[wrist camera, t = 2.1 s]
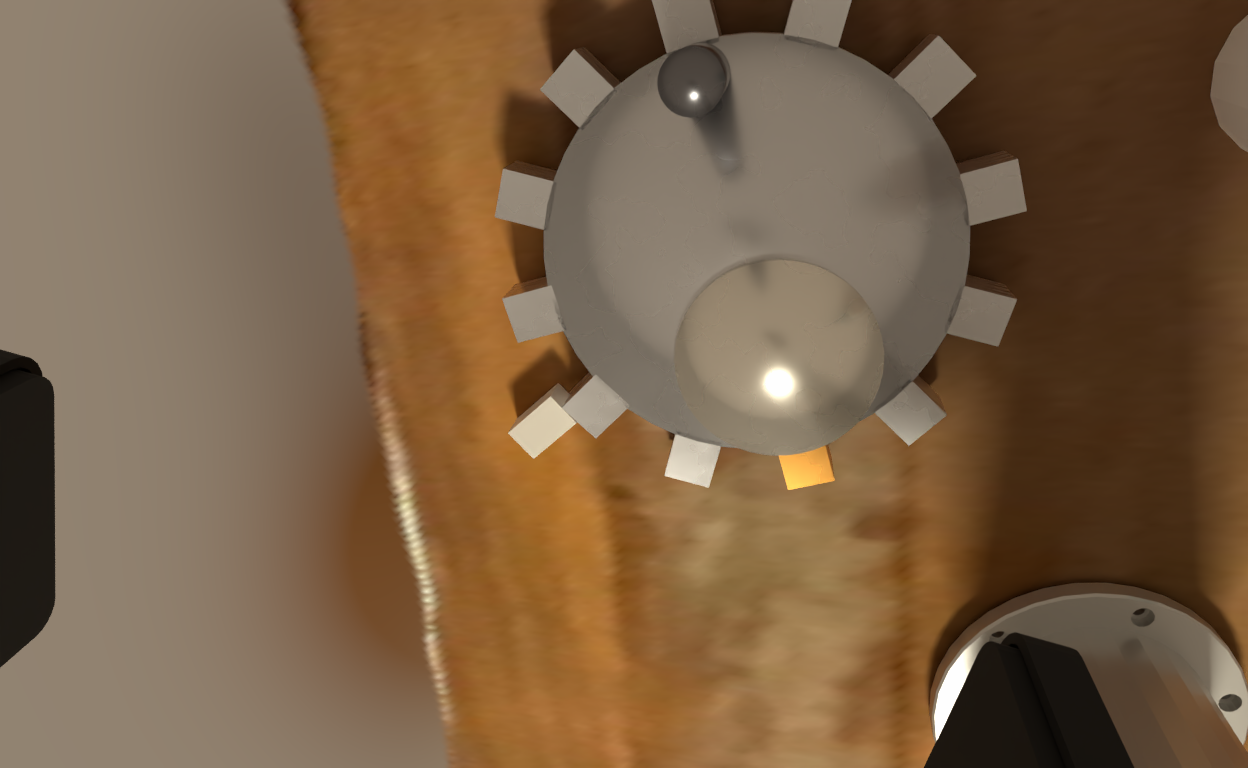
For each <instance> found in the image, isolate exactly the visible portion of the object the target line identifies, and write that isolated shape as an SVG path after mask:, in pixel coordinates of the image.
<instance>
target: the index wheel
mask: <svg viewBox="0 0 1248 768" xmlns="http://www.w3.org/2000/svg"><path fill="white" fill-rule="evenodd" d="M851 1H852V0H792V3H791V7H790V10H789V14H788V18H787V21H786V25H785V29H784V33H782V32H744V33H735V34H725V35H722V33H721V29H720V26H719V22H718V18H717V14H716V10H715V6H714V2H713V0H652V2H653V6H654V10H655V13H656V17H657V20H658V24H659V28H660V31H661V35H662V38H663V42H664V46H665V49H666V53H667V54H665V55H663V56H661V57H660V58H658V59H656V60H654V61H653V62H651V63H649V64H647V65H645V66H644V67H642V68H640V69H639V70H637V71H636V72H635V73H633V74H632V75H631V76H629V77H628V78H627V79H625V80H624V81H623V82H620V81H619V80H618V79H617V78H616V77H615V76H614V75H613V74H612V73H611V72H610V71H609V70H608V69H607V68H606V67H605V66H604V65H603V64H602V63H601V62H600V61H599V60H598V59H597V58H596V57H595V56H594V55H593V54H592V53H591V52H590V51H588V50H587V49H586V48H585V47H581V48H577V49H574V50H573V51H572V52H571V53H570V54H569V56H568V57H567V58H566V59H565V60H564V62H563V63H562V64H561V65H560V66H559V67H558V69H557V70H556V71H555V72H554V73H553V75H552V76H551V77H550V78H549V79H548V80H547V82H546V83H545V84H544V85H543V86H542V88H541V89H540V90H541V91H542V92H543V93H544V94H545V95H546V96H547V97H548V98H549V99H550V100H551V101H552V102H553V103H554V104H555V105H556V106H557V107H559V108H560V109H561V110H562V111H563V112H564V113H565V114H566V115H567V116H568V117H569V118H570V119H571V120H572V121H573V122H574V123H575V124H576V125H577V126H578V127H579V129H578V131H577V132H576V134H575V136H574V138H573V139H572V141H571V143H570V145H569V146H568V148H567V150H566V152H565V153H564V156H563V158H562V161H561V163H560V165H559V168H558V170H553V169H549V168H545V167H541V166H537V165H533V164H529V163H526V162H522V161H518V160H517V161H515V162H513V163H512V164H510V165H508V166H507V167H505V168H503V173H502V178H501V184H500V190H499V196H498V202H497V208H496V213H495V217H496V218H500V219H504V220H508V221H511V222H515V223H519V224H523V225H527V226H531V227H535V228H539V229H543V230H544V263H545V270H546V276H544V277H541V278H537V279H533V280H530V281H526V282H522V283H519V284H515V285H514V286H513V287H512V289H511V290H510V291H509V292H508V293H507V294H506V295H505V296H504V297H503V298H502V300H503V303H504V305H505V308H506V311H507V314H508V316H509V319H510V322H511V325H512V328H513V330H514V333H515V336H516V339H517V342H522V341H526V340H530V339H534V338H538V337H542V336H546V335H549V334H553V333H557V332H561V331H563V332H564V334H565V335H566V337H567V339H568V341H569V342H570V344H571V346H572V348H573V349H574V351H575V353H576V355H577V356H578V357H579V359H580V360H581V361H582V363H583V364H584V365H585V367H586V368H587V369H588V371H589V372H588V373H587V374H586V375H585V376H584V377H583V378H582V379H581V380H580V381H579V382H578V383H577V384H576V385H575V386H574V387H573V388H572V390H571V391H570V393H569V395H568V397H567V399H566V401H565V403H564V405H563V407H562V408H563V409H564V410H565V411H566V412H567V413H568V414H569V415H570V416H571V417H572V418H574V419H575V420H576V421H577V422H578V423H579V424H580V425H581V426H582V427H584V428H585V429H586V430H587V431H588V432H589V433H590V434H591V435H592V436H594V437H595V438H597V437H598V436H599V435H600V434H601V433H602V432H603V431H604V430H605V429H606V428H607V427H608V426H609V425H610V424H611V423H612V422H614V421H615V420H616V419H617V418H618V417H619V416H620V415H621V414H622V413H623V412H624V411H625V410H626V409H627V408H628V409H629V410H631V411H633V412H634V413H636V414H637V415H639V416H641V417H642V418H644V419H645V420H647V421H649V422H650V423H652V424H654V425H656V426H659V427H661V428H663V429H665V430H667V431H669V432H671V433H673V434H675V435H674V439H673V443H672V446H671V450H670V454H669V458H668V462H667V467H666V471H665V475H664V476H667V477H671V478H675V479H679V480H682V481H686V482H690V483H694V484H697V485H701V486H705V487H708V488H709V485H710V482H711V478H712V475H713V471H714V468H715V465H716V461H717V458H718V454H719V451H720V448H721V446H722V447H732V448H739V449H743V450H746V451H749V452H753V453H758V454H763V455H774V456H779V459H780V462H781V466H782V469H783V473H784V476H785V480H786V484H787V487H788V490H791V489H796V488H801V487H805V486H810V485H815V484H820V483H825V482H830V481H835V480H834V472H833V464H832V457H831V453H830V450H829V446H828V444H829V443H831V442H833V441H835V440H836V439H838V438H840V437H841V436H842V435H844V434H845V433H846V432H848V431H849V430H850V429H851V428H852V427H853V426H854V425H856V424H857V423H858V422H859V421H861V420H863V419H865V418H867V417H868V416H870V415H872V414H873V413H876V414H877V415H878V416H879V417H880V418H881V419H882V420H883V421H884V422H885V423H886V424H887V425H888V426H889V427H890V428H891V429H892V430H893V431H894V432H895V433H896V434H897V435H898V436H899V437H900V438H901V439H903V440H904V441H905V442H906V443H907V444H908V445H910V444H912V443H913V442H914V441H915V440H917V439H918V438H919V437H920V436H922V435H923V434H924V433H925V432H927V431H928V430H929V429H930V428H932V427H933V426H934V425H935V424H937V423H938V422H939V421H940V420H942V419H943V418H944V417H945V416H946V415H947V414H946V411H945V409H944V406H943V404H942V402H941V399H940V397H939V395H938V394H937V393H936V392H935V391H934V390H933V389H932V388H931V387H930V386H929V385H928V384H927V383H926V382H925V381H924V380H923V379H922V378H921V377H920V376H919V375H918V374H919V373H920V372H921V370H922V369H923V368H924V367H925V366H926V364H927V363H928V362H929V361H930V359H931V358H932V357H933V355H934V353H935V352H936V350H937V349H938V347H939V345H940V344H941V342H942V341H943V339H944V337H945V336H946V334H951V335H955V336H959V337H963V338H967V339H970V340H974V341H978V342H982V343H986V344H990V345H994V346H999V343H1000V341H1001V338H1002V336H1003V333H1004V331H1005V328H1006V326H1007V324H1008V321H1009V319H1010V316H1011V314H1012V311H1013V309H1014V306H1015V304H1016V301H1017V299H1016V297H1015V296H1014V295H1013V294H1012V292H1011V291H1010V290H1009V289H1008V288H1007V286H1006V285H1005V284H1002V283H999V282H995V281H991V280H987V279H983V278H979V277H975V276H971V275H967V269H968V263H969V257H970V226H971V225H975V224H979V223H983V222H987V221H990V220H994V219H998V218H1002V217H1006V216H1010V215H1014V214H1018V213H1021V212H1025V211H1027V208H1026V203H1025V197H1024V191H1023V185H1022V179H1021V174H1020V168H1019V162H1018V158H1016V157H1014V156H1013V155H1011V154H1010V153H1008V152H1006V151H1005V150H1004V151H1000V152H997V153H993V154H989V155H986V156H982V157H978V158H975V159H971V160H967V161H964V162H960V163H955V161H954V158H953V156H952V154H951V151H950V149H949V147H948V145H947V143H946V141H945V140H944V138H943V136H942V135H941V133H940V132H939V130H938V128H937V127H936V125H935V123H934V122H933V120H932V118H933V117H934V116H935V115H936V114H937V113H938V112H939V111H940V110H941V109H942V108H943V107H944V106H945V105H946V104H947V103H949V102H950V101H951V100H952V99H953V98H954V97H955V96H956V95H957V94H958V93H959V92H960V91H961V90H962V89H963V88H964V87H965V86H966V85H967V84H968V83H970V82H971V81H972V80H973V79H974V78H975V77H976V74H975V73H974V72H973V71H972V70H971V69H970V68H969V67H968V66H967V65H966V64H965V63H964V62H963V61H962V60H961V59H960V57H959V56H958V55H957V54H956V53H955V52H954V51H953V50H952V49H951V48H950V47H949V46H948V45H947V44H946V43H945V41H944V40H943V39H942V38H941V37H940V36H939V35H934V34H929V35H928V36H927V37H926V38H925V39H924V40H923V41H922V42H921V43H919V44H918V45H917V46H916V47H915V48H914V49H913V50H912V51H911V52H910V53H909V54H908V55H907V56H906V57H905V58H904V59H903V60H902V61H901V62H900V63H899V64H898V65H897V66H896V67H895V68H894V69H893V70H892V71H891V72H890V73H889V74H888V75H887V74H885V73H884V72H882V71H881V70H879V69H878V68H876V67H875V66H873V65H872V64H870V63H869V62H867V61H866V60H864V59H863V58H861V57H859V56H856V55H854V54H852V53H850V52H848V51H846V50H844V49H842V48H840V47H838V45H839V42H840V39H841V35H842V32H843V28H844V25H845V21H846V18H847V15H848V11H849V8H850V4H851Z"/></svg>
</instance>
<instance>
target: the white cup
mask: <svg viewBox="0 0 1248 768" xmlns="http://www.w3.org/2000/svg"><path fill="white" fill-rule="evenodd" d="M1210 97H1211V101H1212V104H1213V107H1214V111H1215V114H1216V117H1217V120H1218V124H1219V126H1220V127H1221V128H1222V129H1223V130H1224V132H1225V133H1226V134H1227V135H1228V136H1229V137H1230V138H1231V139H1232V140H1233V141H1234V142H1235V143H1236V144H1237V145H1238V146H1239V147H1240V148H1241V149H1243V150H1245V151H1247V152H1248V15H1247V16H1246V17H1245V18H1244V19H1243V20H1242V21H1240V22H1239V23H1238V24H1237V25H1236V26H1235V27H1234V28H1233V29H1232V31H1231V33H1230V35H1229V37H1228V38H1227V40H1226V42H1225V44H1224V46H1223V48H1222V49H1221V51H1220V53H1219V55H1218V57H1217V58H1216V60H1215V63H1214V71H1213V78H1212V85H1211V93H1210Z"/></svg>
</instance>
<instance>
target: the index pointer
mask: <svg viewBox="0 0 1248 768" xmlns="http://www.w3.org/2000/svg"><path fill="white" fill-rule="evenodd" d="M568 395H569V393H568V392H567V391H566V390H565V389H564V388H563V387H562V386H561V385H560V384H559V383H558V384H556V385H555V386H554V387H553V388H552V389H551V390H549V391H548V392H547V393H546V394H545V395H544V396H542V397H541V398H540V399H539V400H538V401H537V402H536V403H534V404H533V405H532V406H531V407H530V408H529V409H527V410H526V411H525V412H524V413H523V414H522V415H520V416H519V417H518V418H517V419H516V421H515V423H514V424H513V426H512V427H511V429H510V431H509V432H508V434H509V435H510V436H511V437H512V438H513V439H514V440H515V441H516V442H517V443H518V444H519V445H520V446H521V447H522V448H523V449H524V450H525V451H526V452H527V453H528V454H529V455H530V456H531V457H532V458H533V459H534V458H535V457H536V456H538V455H539V454H540V453H541V452H542V451H544V450H545V449H546V448H547V447H548V446H550V445H551V444H552V443H553V442H554V441H556V440H557V439H558V438H559V437H560V436H561V435H563V434H564V433H565V432H566V431H567V430H569V429H570V428H571V427H572V426H573V425H575V424H576V423H577V421H576V420H575V419H574V418H572V417H571V416H570V415H569V414H568V413H567V412H566V411H565V410H564V409H563V408H562V407H563V405H564V403H565V401H566V399H567V397H568Z"/></svg>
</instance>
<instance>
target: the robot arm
mask: <svg viewBox="0 0 1248 768" xmlns="http://www.w3.org/2000/svg"><path fill="white" fill-rule="evenodd" d="M54 461H55V460H54V391H53V386H52V384H51V382H50V381H49V380H47V379H46V378H45V377H42V371H41V370H40V367H39V365H38V363H36V362H35V361H34V360H33V359H31V358H29V357H25V356H21V355H17V354H14V353H11V352H7V351H3V350H0V667H1V666H2V665H4V664H5V663H6V662H7V661H8V660H9V659H11V658H12V657H13V656H14V655H15V654H16V653H17V652H19V651H20V650H21V649H22V648H23V647H24V646H26V645H27V644H28V643H29V642H30V641H31V640H32V639H34V638H35V637H36V636H37V635H38V634H39V632H40V631H41V630H42V629H43V628H44V626H45V625H46V623H47V622H48V620H49V617H50V615H51V613H52V610H53V607H54V603H55V478H54V477H55V476H54V475H55V468H54V467H55V465H54V464H55V462H54ZM929 714H930V720H931V726H932V732H933V737H934V740H935V745H934V747H933V750H932V752H931V754H930V756H929V758H928V760H927V762H926V764H925V766H924V768H1248V753H1247V751H1246V749H1245V748H1244V746H1243V745H1244V743H1245V741H1246V738H1247V733H1248V685H1247V682H1246V679H1245V676H1244V673H1243V670H1242V668H1241V666H1240V665H1239V663H1238V662H1237V660H1236V658H1235V657H1234V655H1233V654H1232V652H1231V651H1230V649H1229V647H1228V646H1227V645H1226V643H1225V642H1224V641H1223V640H1222V638H1221V637H1220V636H1219V635H1218V634H1217V632H1216V631H1215V630H1214V629H1213V627H1212V626H1211V625H1209V624H1208V623H1207V622H1206V621H1204V620H1203V619H1202V618H1201V617H1199V616H1198V615H1197V614H1196V613H1194V612H1193V611H1192V610H1191V609H1189V608H1187V607H1185V606H1183V605H1181V604H1179V603H1178V602H1176V601H1174V600H1172V599H1170V598H1168V597H1166V596H1164V595H1160V594H1157V593H1154V592H1151V591H1148V590H1144V589H1141V588H1138V587H1133V586H1126V585H1119V584H1112V583H1071V584H1065V585H1059V586H1053V587H1048V588H1042V589H1039V590H1036V591H1033V592H1030V593H1027V594H1024V595H1021V596H1018V597H1015V598H1013V599H1011V600H1009V601H1007V602H1005V603H1004V604H1002V605H1000V606H998V607H996V608H994V609H992V610H990V611H988V612H987V613H986V614H984V615H983V616H982V617H981V618H979V619H978V620H977V621H975V622H974V623H973V624H971V625H970V626H969V627H968V628H966V629H965V631H964V632H963V633H962V634H961V635H960V636H959V637H958V638H957V640H956V641H955V642H954V643H953V644H952V645H951V646H950V647H949V649H948V651H947V653H946V654H945V656H944V658H943V660H942V661H941V663H940V665H939V666H938V668H937V671H936V674H935V678H934V681H933V684H932V687H931V691H930V708H929Z"/></svg>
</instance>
